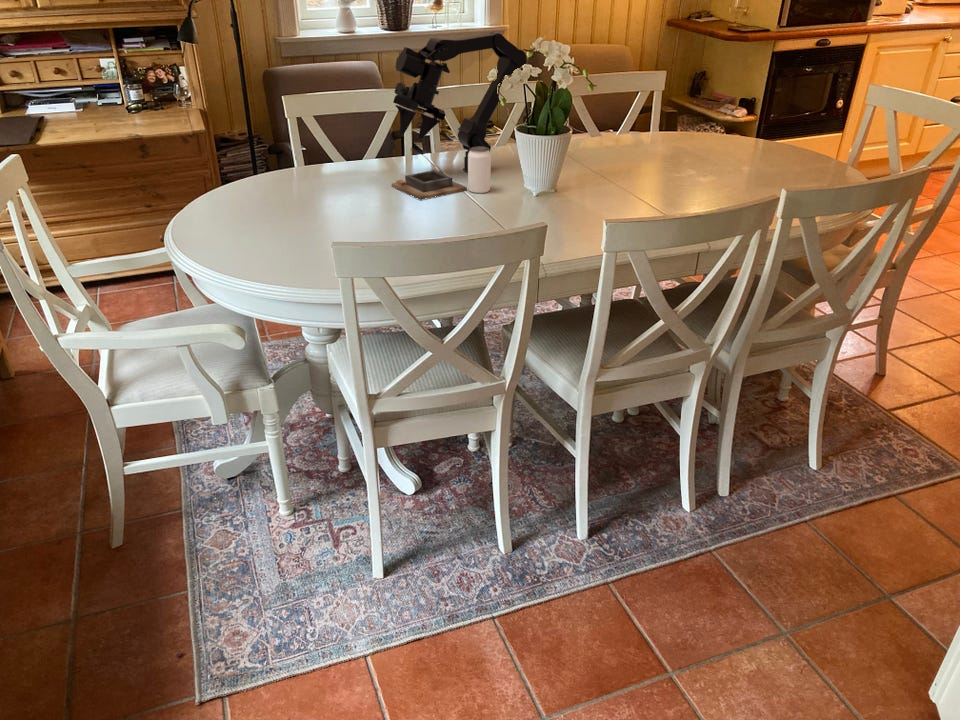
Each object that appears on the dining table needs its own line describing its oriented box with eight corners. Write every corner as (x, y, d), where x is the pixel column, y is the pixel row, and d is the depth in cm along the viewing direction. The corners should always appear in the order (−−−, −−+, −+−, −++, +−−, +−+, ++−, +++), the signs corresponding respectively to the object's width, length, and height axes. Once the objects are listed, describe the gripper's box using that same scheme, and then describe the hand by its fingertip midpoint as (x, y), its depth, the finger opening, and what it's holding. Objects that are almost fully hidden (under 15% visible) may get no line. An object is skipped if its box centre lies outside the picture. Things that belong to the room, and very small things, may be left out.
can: (474, 195, 216) (474, 153, 210) (464, 189, 221) (463, 147, 215) (494, 191, 218) (494, 150, 212) (483, 186, 223) (484, 145, 217)
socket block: (437, 177, 231) (437, 166, 229) (466, 190, 219) (466, 178, 218) (391, 186, 223) (391, 174, 221) (420, 200, 211) (419, 188, 210)
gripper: (424, 82, 228) (408, 133, 232) (387, 67, 212) (371, 122, 216) (453, 93, 223) (436, 144, 228) (417, 78, 207) (400, 134, 212)
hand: (411, 136), depth 221 cm, fingers open, 9 cm apart
